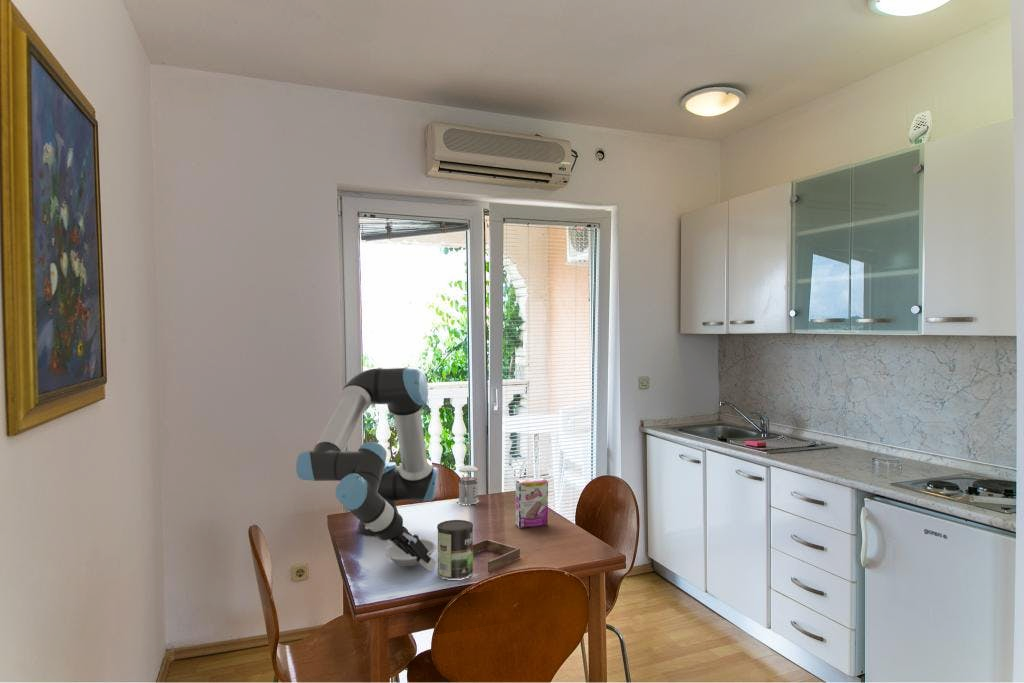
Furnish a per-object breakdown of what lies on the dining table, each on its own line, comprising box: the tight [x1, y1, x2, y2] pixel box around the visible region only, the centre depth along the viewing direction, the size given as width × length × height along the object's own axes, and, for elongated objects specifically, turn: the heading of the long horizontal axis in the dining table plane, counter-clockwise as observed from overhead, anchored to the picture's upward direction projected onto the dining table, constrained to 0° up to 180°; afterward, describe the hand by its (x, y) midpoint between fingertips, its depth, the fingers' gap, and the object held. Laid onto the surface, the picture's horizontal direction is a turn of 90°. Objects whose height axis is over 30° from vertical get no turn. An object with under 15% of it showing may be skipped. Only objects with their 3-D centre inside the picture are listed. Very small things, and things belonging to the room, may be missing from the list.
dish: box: [385, 538, 437, 567], centre depth 174 cm, size 18×14×5 cm
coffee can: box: [436, 519, 474, 580], centre depth 168 cm, size 10×10×14 cm
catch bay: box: [473, 538, 521, 573], centre depth 179 cm, size 14×14×3 cm
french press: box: [457, 441, 480, 506], centre depth 242 cm, size 10×12×25 cm
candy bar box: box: [514, 478, 549, 529], centre depth 212 cm, size 11×5×16 cm, turn 108°
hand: (431, 565), depth 161 cm, fingers closed
